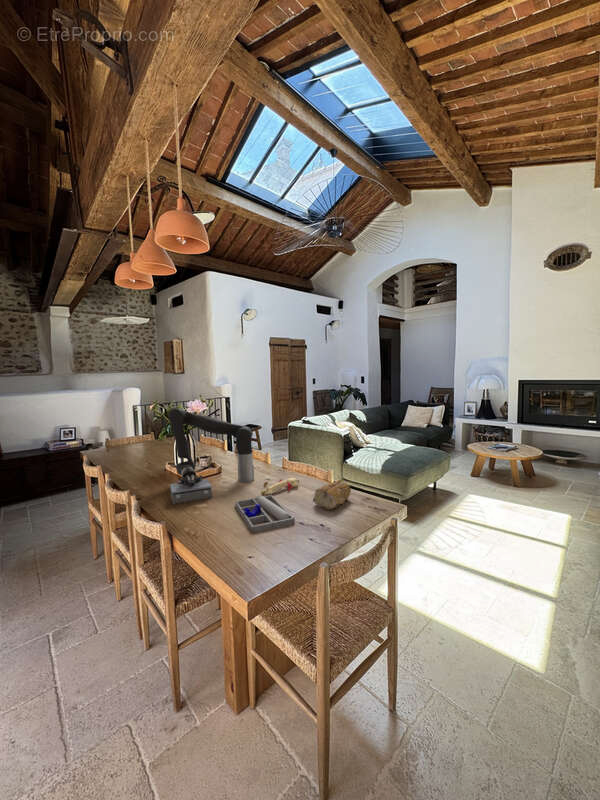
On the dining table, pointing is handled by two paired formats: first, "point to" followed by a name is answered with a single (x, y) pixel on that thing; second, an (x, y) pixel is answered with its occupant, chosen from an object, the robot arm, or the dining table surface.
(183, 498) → the dark grey box
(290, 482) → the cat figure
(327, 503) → the petrified wood
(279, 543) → the dining table surface
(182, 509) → the dining table surface
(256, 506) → the cable holder
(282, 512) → the tube
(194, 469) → the robot arm
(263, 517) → the desk organiser
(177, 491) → the cover
